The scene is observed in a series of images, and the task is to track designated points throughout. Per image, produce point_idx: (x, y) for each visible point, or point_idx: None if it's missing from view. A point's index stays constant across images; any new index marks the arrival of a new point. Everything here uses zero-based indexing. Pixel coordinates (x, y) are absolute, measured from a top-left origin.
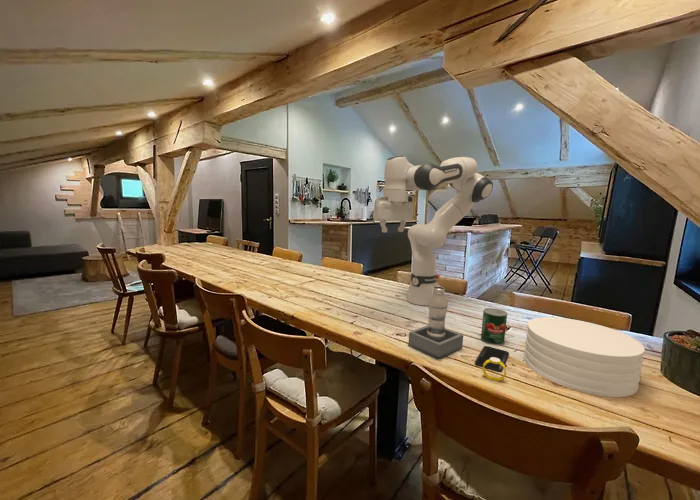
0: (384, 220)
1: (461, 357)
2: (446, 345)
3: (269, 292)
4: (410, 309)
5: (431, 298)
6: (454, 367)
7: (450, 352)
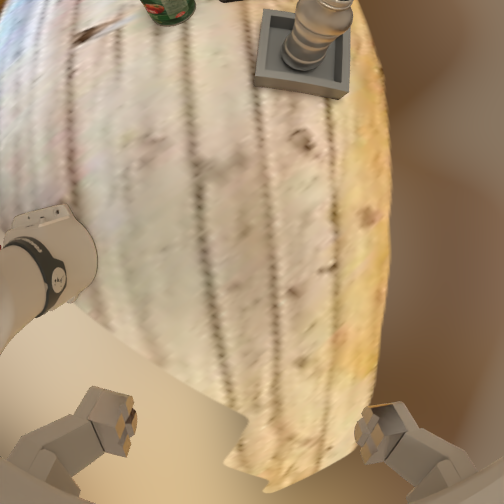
0: (498, 462)
1: None
2: None
3: (309, 464)
4: (134, 233)
5: (348, 18)
6: None
7: None
